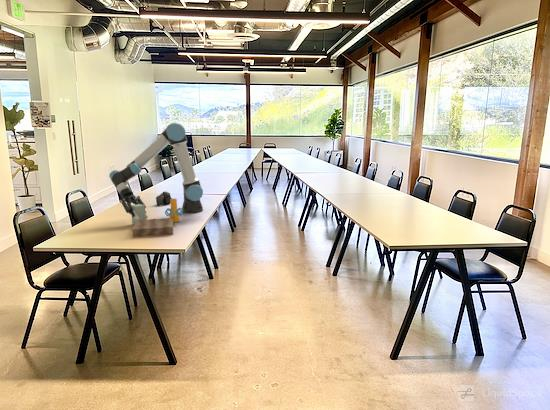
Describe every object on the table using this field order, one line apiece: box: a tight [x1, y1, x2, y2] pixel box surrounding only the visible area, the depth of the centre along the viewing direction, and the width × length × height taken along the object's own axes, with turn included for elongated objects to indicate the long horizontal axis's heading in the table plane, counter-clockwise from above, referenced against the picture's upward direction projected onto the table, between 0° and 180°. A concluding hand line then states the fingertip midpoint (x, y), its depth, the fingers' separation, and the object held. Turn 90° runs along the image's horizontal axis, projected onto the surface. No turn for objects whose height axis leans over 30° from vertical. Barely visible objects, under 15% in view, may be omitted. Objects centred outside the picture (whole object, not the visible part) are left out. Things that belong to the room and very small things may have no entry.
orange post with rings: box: [164, 198, 184, 223], centre depth 250 cm, size 12×10×15 cm
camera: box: [155, 191, 173, 206], centre depth 306 cm, size 13×10×10 cm
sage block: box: [131, 204, 147, 225], centre depth 244 cm, size 6×6×12 cm
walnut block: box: [132, 217, 174, 238], centre depth 230 cm, size 22×22×5 cm
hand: (142, 218), depth 243 cm, fingers closed on sage block, 6 cm apart
